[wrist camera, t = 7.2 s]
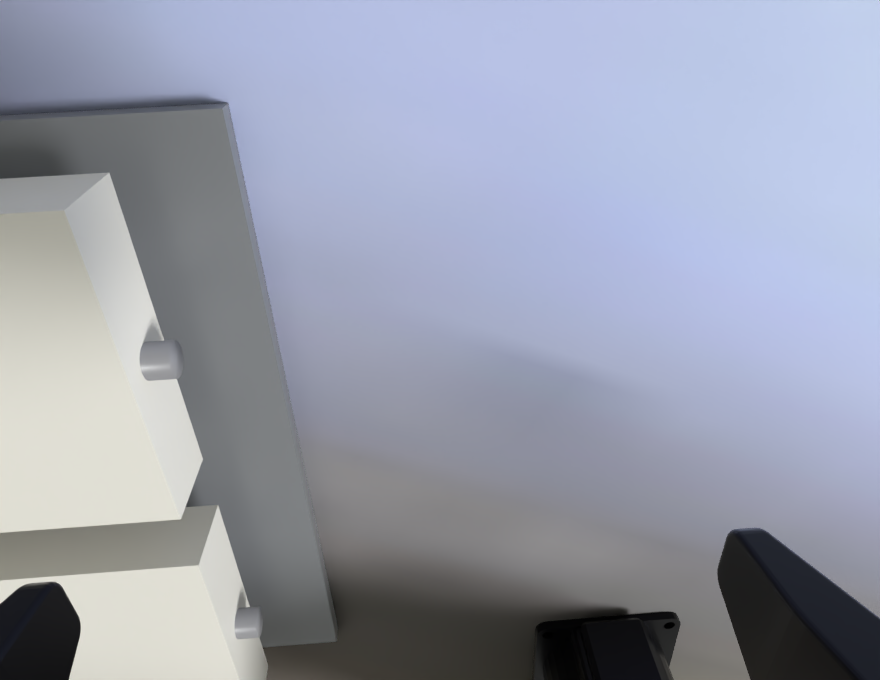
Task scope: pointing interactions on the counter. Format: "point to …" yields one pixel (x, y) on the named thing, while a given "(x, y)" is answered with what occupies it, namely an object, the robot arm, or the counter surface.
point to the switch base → (206, 331)
